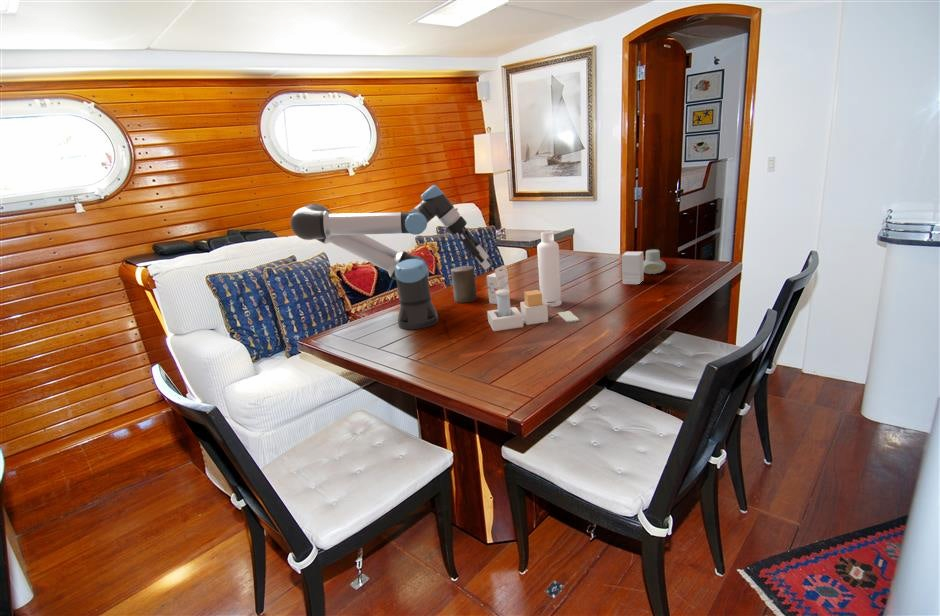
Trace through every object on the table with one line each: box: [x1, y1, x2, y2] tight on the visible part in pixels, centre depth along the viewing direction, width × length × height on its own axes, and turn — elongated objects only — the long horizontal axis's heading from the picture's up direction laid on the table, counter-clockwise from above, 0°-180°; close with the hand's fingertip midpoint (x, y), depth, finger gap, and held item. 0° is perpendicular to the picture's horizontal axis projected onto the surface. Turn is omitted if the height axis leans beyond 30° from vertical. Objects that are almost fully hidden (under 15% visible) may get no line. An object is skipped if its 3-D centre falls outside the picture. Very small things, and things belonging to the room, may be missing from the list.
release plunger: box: [523, 289, 542, 307], centre depth 167 cm, size 5×5×8 cm
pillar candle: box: [450, 265, 478, 304], centre depth 203 cm, size 10×10×15 cm
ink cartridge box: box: [486, 264, 510, 305], centre depth 196 cm, size 9×5×15 cm, turn 143°
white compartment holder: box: [486, 300, 549, 332], centre depth 168 cm, size 20×10×7 cm, turn 98°
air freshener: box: [643, 249, 667, 275], centre depth 213 cm, size 11×8×10 cm
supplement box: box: [621, 251, 644, 285], centre depth 202 cm, size 7×7×13 cm
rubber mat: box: [557, 310, 580, 323], centre depth 170 cm, size 10×10×1 cm
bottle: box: [536, 230, 562, 308], centre depth 183 cm, size 8×8×28 cm
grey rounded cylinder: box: [496, 289, 511, 317], centre depth 166 cm, size 5×5×12 cm
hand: (487, 263), depth 191 cm, fingers open, 13 cm apart
